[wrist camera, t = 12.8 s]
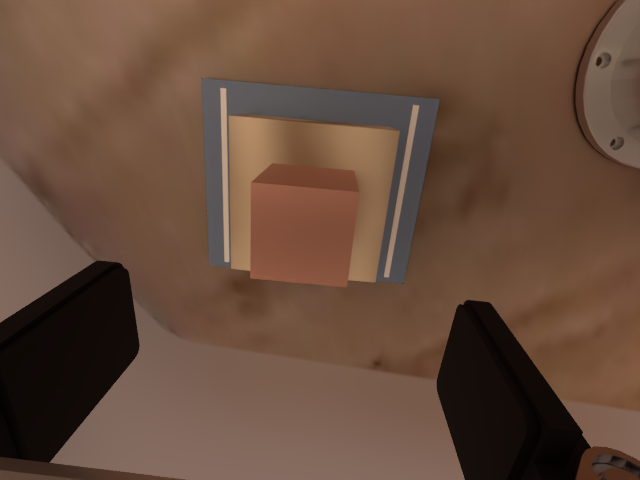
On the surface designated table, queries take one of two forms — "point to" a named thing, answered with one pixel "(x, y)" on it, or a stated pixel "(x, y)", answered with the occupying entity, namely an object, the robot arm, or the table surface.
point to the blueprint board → (324, 105)
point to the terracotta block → (303, 224)
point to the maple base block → (314, 151)
